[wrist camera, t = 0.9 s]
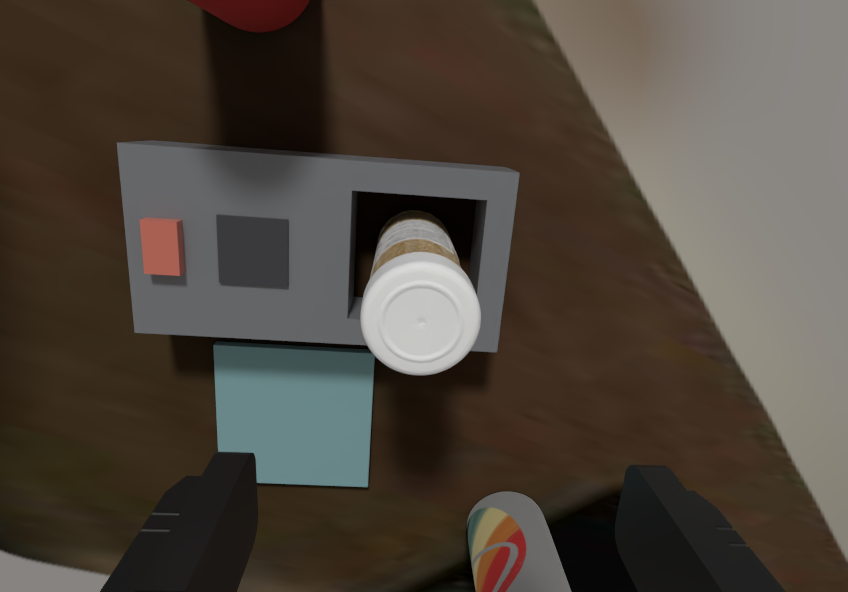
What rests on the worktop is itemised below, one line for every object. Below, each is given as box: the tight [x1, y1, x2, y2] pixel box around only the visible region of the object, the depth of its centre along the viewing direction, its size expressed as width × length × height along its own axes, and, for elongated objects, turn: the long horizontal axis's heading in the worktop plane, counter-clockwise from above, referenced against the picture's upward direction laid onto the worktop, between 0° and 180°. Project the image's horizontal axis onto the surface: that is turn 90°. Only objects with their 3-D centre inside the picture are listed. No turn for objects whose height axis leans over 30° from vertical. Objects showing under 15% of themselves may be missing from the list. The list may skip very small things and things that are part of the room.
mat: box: [213, 341, 375, 487], centre depth 35 cm, size 10×10×1 cm
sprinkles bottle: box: [360, 210, 481, 375], centre depth 26 cm, size 5×5×13 cm
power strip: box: [117, 140, 520, 352], centre depth 30 cm, size 20×10×5 cm, turn 86°
